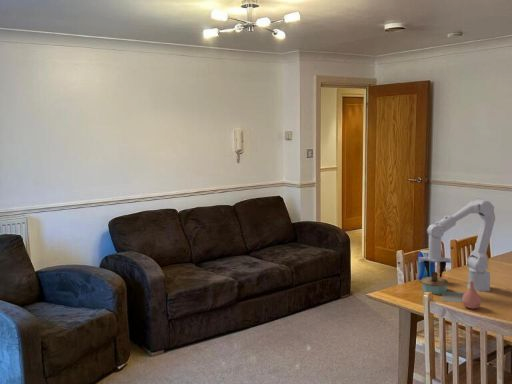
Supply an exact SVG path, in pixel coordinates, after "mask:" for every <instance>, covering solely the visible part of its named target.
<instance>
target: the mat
mask: <svg viewBox="0 0 512 384" xmlns="http://www.w3.org/2000/svg"><path fill="white" fill-rule="evenodd" d="M465 293H466V292H461V291H447V292H445V293H443V294H441V297H442V300H443V302H449V303H463V302H462V298H463V295H464V294H465Z"/></svg>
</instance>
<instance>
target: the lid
mask: <svg viewBox="0 0 512 384" xmlns="http://www.w3.org/2000/svg"><path fill="white" fill-rule="evenodd" d="M448 282H449V281H448V280H447V279H446V278H443V277H439V276H438V272H437V271H435V272H432V277H426V278H423V279H422V282H421V283H423V284H426V285H430V286H445V285H448Z"/></svg>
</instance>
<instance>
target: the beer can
mask: <svg viewBox="0 0 512 384" xmlns="http://www.w3.org/2000/svg"><path fill="white" fill-rule="evenodd" d="M419 257H429V249H421V250H419V252H418V254H417V280H418V281H419V282H421V283H422V279H423V278H426V277H428V273H427V270H426V267H425V265H424V262H419ZM432 272H436V262H429V274H430V277H432Z"/></svg>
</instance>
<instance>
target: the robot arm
mask: <svg viewBox="0 0 512 384" xmlns="http://www.w3.org/2000/svg"><path fill="white" fill-rule="evenodd" d="M470 214H477V215H479V217H480V218H481V224H480V227H479V229H478V234H477V237H476V242H475V246H474V250H472V251H471V252H470V254H469V256H468V258H466V265H467V266H468V284H466V287H467V290H468V289H469V288H470V282H474V289H475V291H476V292H477V291H478V292H490V291H491V290H490V289H491V288H490V287H491V274H490V271H488V268H489V264H488V262H489V257H488V255H487V251H488V247H489V245H490V239H491V236H492V233H493V232H492V231H493V229H494V226H495V225H494V224H495V222H496V215H495V206H494V205H493V204H492V202H491V201H489V200H485V199H484V200H483V199H481V198H474V199H472V200H471V201H469V202H468V203H467V204H466V205H465V206H463V207H462V208H460V209H458V211H456V212H455V213H453V214H452V215H444V216H443V218H442V219H440V220H438V221H436V222H434V223H432V224H430V225H428V227H427V229H426V233H427V234H428V250H429V257H419V262H424V265H425V267H426V270H427V273H428V277H430V274H429V262H435V263H439V278H443V274H444V270H445V268H446V266H447V263H448V264H452V258H450V257H442V237H443V236H444V233H445V232H448V231H449V230H451V229H452V228H453V227H456V224H457V222H458V221H460V220H462V219H463V218H465V217H467V216H469V215H470Z"/></svg>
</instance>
